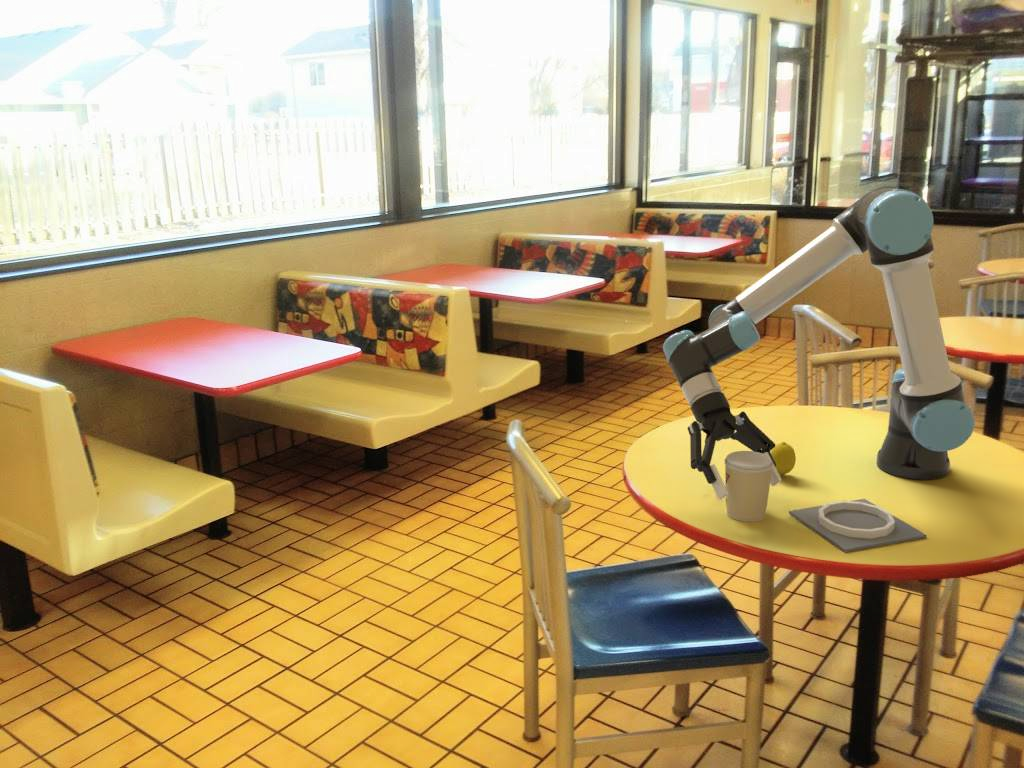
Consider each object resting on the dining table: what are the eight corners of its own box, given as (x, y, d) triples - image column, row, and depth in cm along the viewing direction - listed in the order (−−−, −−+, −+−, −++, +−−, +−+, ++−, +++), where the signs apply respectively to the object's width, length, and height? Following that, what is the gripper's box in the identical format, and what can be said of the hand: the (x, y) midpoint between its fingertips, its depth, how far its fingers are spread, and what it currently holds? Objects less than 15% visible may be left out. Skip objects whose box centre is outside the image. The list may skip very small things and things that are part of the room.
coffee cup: (734, 500, 188) (737, 446, 184) (777, 511, 182) (780, 456, 179) (714, 515, 181) (716, 460, 177) (757, 527, 175) (761, 470, 172)
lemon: (767, 478, 199) (769, 444, 196) (769, 469, 204) (771, 436, 201) (793, 481, 197) (796, 447, 194) (795, 472, 202) (797, 439, 199)
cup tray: (864, 501, 186) (865, 491, 185) (926, 537, 169) (927, 527, 168) (788, 513, 181) (789, 504, 180) (844, 552, 164) (845, 542, 164)
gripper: (743, 398, 196) (788, 485, 187) (649, 417, 185) (691, 510, 176) (761, 381, 189) (808, 470, 181) (665, 399, 179) (709, 494, 170)
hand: (750, 490), depth 179 cm, fingers open, 13 cm apart
